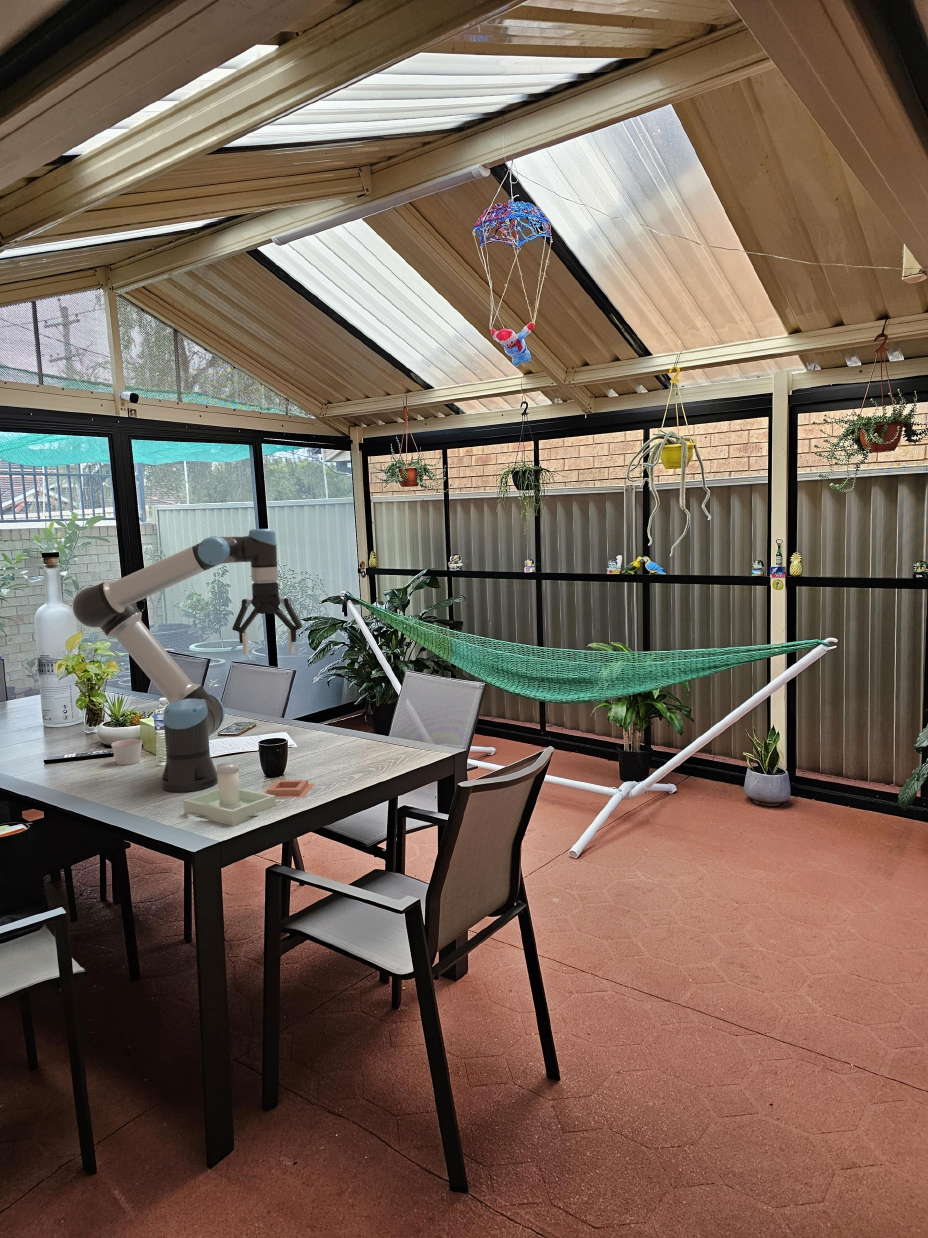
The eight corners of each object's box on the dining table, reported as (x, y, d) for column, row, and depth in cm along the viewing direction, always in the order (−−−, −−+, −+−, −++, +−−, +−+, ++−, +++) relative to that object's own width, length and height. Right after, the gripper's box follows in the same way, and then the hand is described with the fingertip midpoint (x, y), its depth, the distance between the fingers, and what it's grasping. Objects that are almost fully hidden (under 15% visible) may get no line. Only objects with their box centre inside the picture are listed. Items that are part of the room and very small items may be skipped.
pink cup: (148, 758, 268) (146, 739, 267) (136, 766, 259) (134, 746, 258) (120, 759, 268) (119, 739, 268) (107, 766, 259) (106, 746, 259)
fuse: (216, 811, 209) (213, 768, 208) (223, 804, 214) (221, 762, 213) (236, 811, 209) (234, 767, 208) (243, 804, 214) (241, 762, 213)
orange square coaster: (259, 801, 219) (259, 792, 219) (272, 787, 231) (272, 778, 231) (304, 800, 218) (304, 791, 218) (315, 787, 230) (315, 778, 230)
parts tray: (184, 814, 211) (183, 800, 210) (228, 798, 222) (227, 785, 222) (232, 825, 201) (232, 811, 201) (276, 809, 212) (275, 795, 212)
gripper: (310, 580, 248) (313, 651, 250) (227, 582, 249) (231, 652, 252) (303, 581, 240) (307, 654, 242) (218, 583, 242) (222, 656, 244)
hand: (268, 654), depth 247 cm, fingers open, 13 cm apart
